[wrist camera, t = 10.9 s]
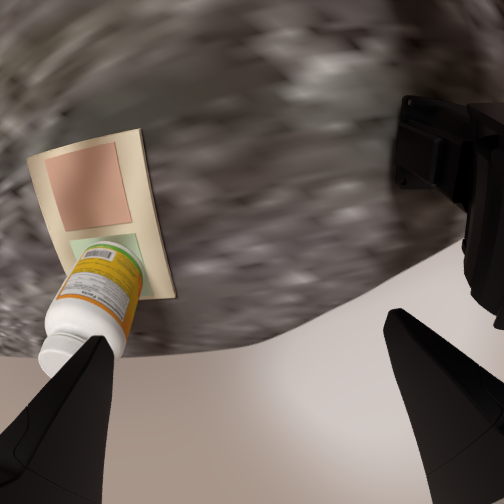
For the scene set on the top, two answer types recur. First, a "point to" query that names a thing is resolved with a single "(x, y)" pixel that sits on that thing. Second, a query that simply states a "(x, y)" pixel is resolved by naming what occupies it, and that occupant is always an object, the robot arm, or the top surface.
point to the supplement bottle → (93, 304)
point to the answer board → (103, 203)
